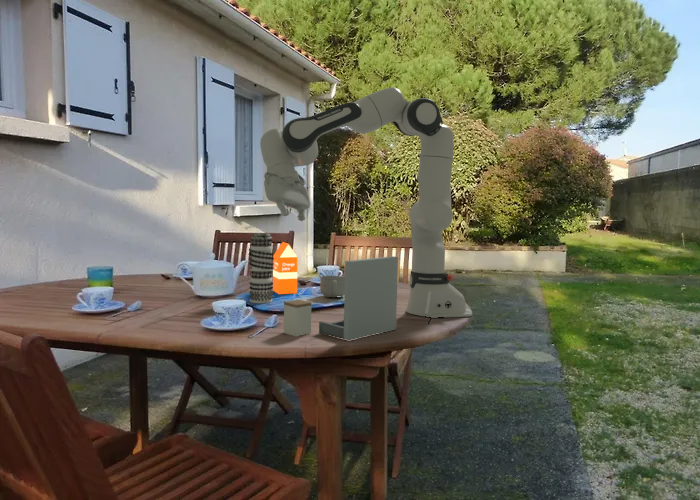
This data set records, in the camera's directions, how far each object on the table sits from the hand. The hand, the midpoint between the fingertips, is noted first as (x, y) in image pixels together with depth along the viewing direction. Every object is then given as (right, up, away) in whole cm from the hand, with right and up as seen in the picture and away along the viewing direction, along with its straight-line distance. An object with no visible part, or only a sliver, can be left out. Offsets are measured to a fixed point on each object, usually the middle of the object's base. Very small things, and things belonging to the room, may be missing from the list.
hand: (294, 217), depth 174 cm
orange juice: (-9, -27, +54) cm, 61 cm away
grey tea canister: (+2, -34, -12) cm, 36 cm away
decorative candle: (-15, -29, +33) cm, 47 cm away
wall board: (+20, -34, -10) cm, 40 cm away
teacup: (+11, -29, +43) cm, 53 cm away
